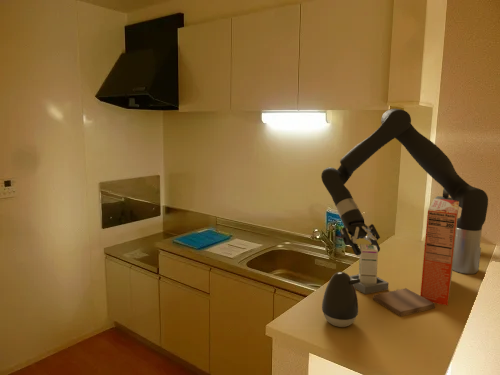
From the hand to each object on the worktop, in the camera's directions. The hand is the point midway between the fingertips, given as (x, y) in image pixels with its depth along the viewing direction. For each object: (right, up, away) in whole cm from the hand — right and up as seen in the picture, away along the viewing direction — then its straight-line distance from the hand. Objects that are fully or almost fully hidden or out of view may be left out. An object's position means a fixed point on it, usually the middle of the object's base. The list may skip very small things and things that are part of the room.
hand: (368, 253), depth 133 cm
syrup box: (0, -12, +2) cm, 12 cm away
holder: (0, -12, +2) cm, 12 cm away
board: (+8, -14, -11) cm, 20 cm away
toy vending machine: (+47, -5, +46) cm, 66 cm away
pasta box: (+24, -13, 0) cm, 27 cm away
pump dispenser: (-16, -16, -23) cm, 32 cm away
